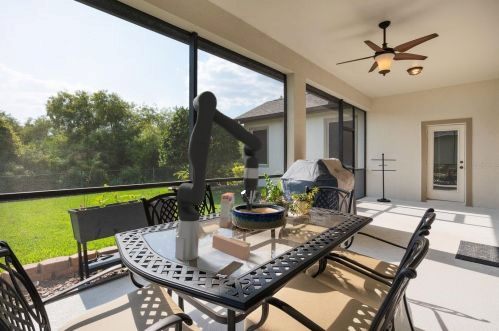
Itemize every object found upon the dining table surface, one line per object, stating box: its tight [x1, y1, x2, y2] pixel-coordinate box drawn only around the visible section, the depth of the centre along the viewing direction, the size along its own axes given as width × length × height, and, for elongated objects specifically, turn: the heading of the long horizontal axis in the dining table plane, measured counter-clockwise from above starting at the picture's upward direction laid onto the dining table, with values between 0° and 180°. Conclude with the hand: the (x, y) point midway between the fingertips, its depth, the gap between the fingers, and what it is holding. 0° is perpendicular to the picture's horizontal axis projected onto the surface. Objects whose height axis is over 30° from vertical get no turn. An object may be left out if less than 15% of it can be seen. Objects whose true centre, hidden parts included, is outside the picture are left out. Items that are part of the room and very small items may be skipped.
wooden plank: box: [213, 260, 244, 276], centre depth 113 cm, size 17×1×5 cm
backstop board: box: [211, 234, 250, 261], centre depth 133 cm, size 3×22×6 cm, turn 48°
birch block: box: [228, 237, 251, 254], centre depth 136 cm, size 6×12×5 cm, turn 47°
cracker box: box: [218, 192, 236, 229], centre depth 183 cm, size 14×6×21 cm, turn 168°
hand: (249, 210), depth 141 cm, fingers closed
